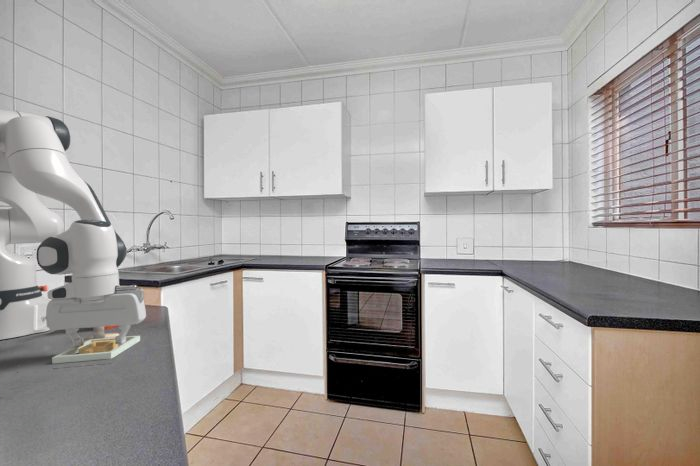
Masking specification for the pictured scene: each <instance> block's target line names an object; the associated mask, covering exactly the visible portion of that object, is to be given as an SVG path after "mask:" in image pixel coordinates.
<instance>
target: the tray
mask: <svg viewBox="0 0 700 466" xmlns="http://www.w3.org/2000/svg"><path fill="white" fill-rule="evenodd" d="M105 340H115V337H114V338H102V339H90V340H88V341H86V342H84V345H83V346H81V347H71V348H69V349H67V350H64V351H63V352H61V353H59V354H56V355H55V356H53V357H51V362H52V363H51V364H54V365H55V364H66V363H76V362H77V363H78V362H89V361H90V362H91V361H99V360H101V361H103V360H110V359H113V358H115V357H116V356H117V355H119V354H122V353H123V352H125V351H126V350H128V349H129V348H131V347H133V346H134V345H136V344H137V343H138V342H141V335H131V336H129V335H128V336H127V335H126V342H124V343H123V344H119V345H118V347H117V348H115V349H113V350H111V351H110V352H99V353H87V354H79V352H78V349H80V348H82V347H84V346H86V345H88V344H90V343H92V342H94V341H105ZM77 353H78V354H77ZM112 364H113V363H111V362H110V363H109V365H112ZM100 365H105V363H100V364H98V366H100ZM89 366H93V364H91V365H90V364H89V365H86V367H89ZM80 367H82V365H79V366H75V368H80ZM66 368H67V369H69V368H70V366H66V367H65V366H64V369H66ZM56 369H57V370H58V369H59V367H56V368H52V370H56Z"/></svg>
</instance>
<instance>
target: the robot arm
mask: <svg viewBox="0 0 700 466" xmlns="http://www.w3.org/2000/svg"><path fill="white" fill-rule="evenodd" d="M70 145H71V134H70V130H69V128H68V125H67V124H66V123H65V121H63V120H61V119H58V118H56V117H52V116H49V115H47V116H44V115H39V114H35V113H31V112H26V111H20V110H10V109H9V110H8V109H0V202H2V203H5V204H7V205H9V207H10V208H0V340H1V341H2V340H6V339H13V338H18V337H25V336H28V335H34V334H38V333H44V332H48V331H61V330H65V335H66V336H67V337H68V339H69V340H70V341H71V348H73V347H81V346H83V345H84V342H83V341H84V337H80V335H79V334H78V331H79V330H80V329H88V328H93V327H104V326H117V325H119V326H117V327H118V329H119V330H121V331H120V332H119V334H120V335H118V336H116V337H115V340H116V341H115V344H118V345H122V344H123V343H124V342H126V337H127V334H128V332H129V330H130V329H131V328H132V327H131V326H132V325H137V324H140V323H142V322H143V321H144V320H145V319H146V317H147V310H146V305H145V301H144V298H145V294H144V293H145V292H144V289H142V288H141V287H139V286H138V285H137V284H130V285H120V274H119V266H121V265H122V263H124V260H125V259H126V257H127V251H128V250H127V247H126V243H125V242H124V241H123V239H122V238H121V236H120V235H119V234H118V233H117V232H116V230H115V228H114V226H113V224H112V223H111V221H110V218H109V216H108V215H107V213H106V211H105V210H104V208H103V207H104V206H102V204H101V201H100V200H99V198H98V196H97V195H96V193H95V191H94V189H93V188H92V186H91V185H90V184H89V183H87V182H86V181H85V180H83V179H82V178H81V176H79V175H78V173H77V172H76V170H75V169H74V168H73V167H72V165H71V163H70V160H68V156H67V153H66V152H67V150H68V149H69V148H70ZM38 195H40V196H43V197H46V198H48V199H49V198H50V199H52V200H56V201H58V202H61V203H63V204H65V205H67V206H69V207H71V209H73V210H74V211H75V212H76V213H77V215H78V216H79V218H80V219H79V220H74V221H72V222H71V224H70V227H69V228H68V229H66V230H64V229H65V223H64V220H63V218H62V217H61V215H60V214H58V213H57V212H55V211H54V210H52V209H50V208H49V207H47V206H46V205H44V203H43V202H42V201H41V200H40V199H39V196H38ZM38 243H40V244H39V245H38V247H37V249H36V262H37V265H38V266H39V267H40V269H42V270H43V271H44V272H46V273H47V274H49V275H56V276H57V275H58V276H59V275H60V276H62V275H63V276H64V275H71V282H69V283H66V284H64V285H62V286H58V287H56V288H53V289H50V290H49V288H48V285H46V284H45V285H37V267H36V263H35V261H34V260H33V259H31V258H29V257H27V256H23V255H21V254H17V253H14V252H10V251H8V250H7V247H6V246H8V245H18V244H19V245H21V244H38ZM119 285H120V286H119ZM42 292H47V293H46V294H47V298H45V296H43V293H42Z"/></svg>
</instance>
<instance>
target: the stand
mask: <svg viewBox="0 0 700 466" xmlns="http://www.w3.org/2000/svg"><path fill="white" fill-rule="evenodd" d="M118 335H120V333H118V332H109V333H108V332H107V333H105V330H104V327H92V336H88V337H85V338H84V337H83V338H84V341H83V342H86V341H88V340H90V339H102V338H114V337H116V336H118Z"/></svg>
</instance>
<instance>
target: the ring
mask: <svg viewBox="0 0 700 466" xmlns="http://www.w3.org/2000/svg"><path fill="white" fill-rule="evenodd" d="M115 341H116V340H105V341H94V342H92V343H90V344H88V345H86V346H84V347H82V348H80V349H78V354H87V353H99V352H110V351H111V350H113V349H115V348H117V347H118V346H119V344H115Z"/></svg>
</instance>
